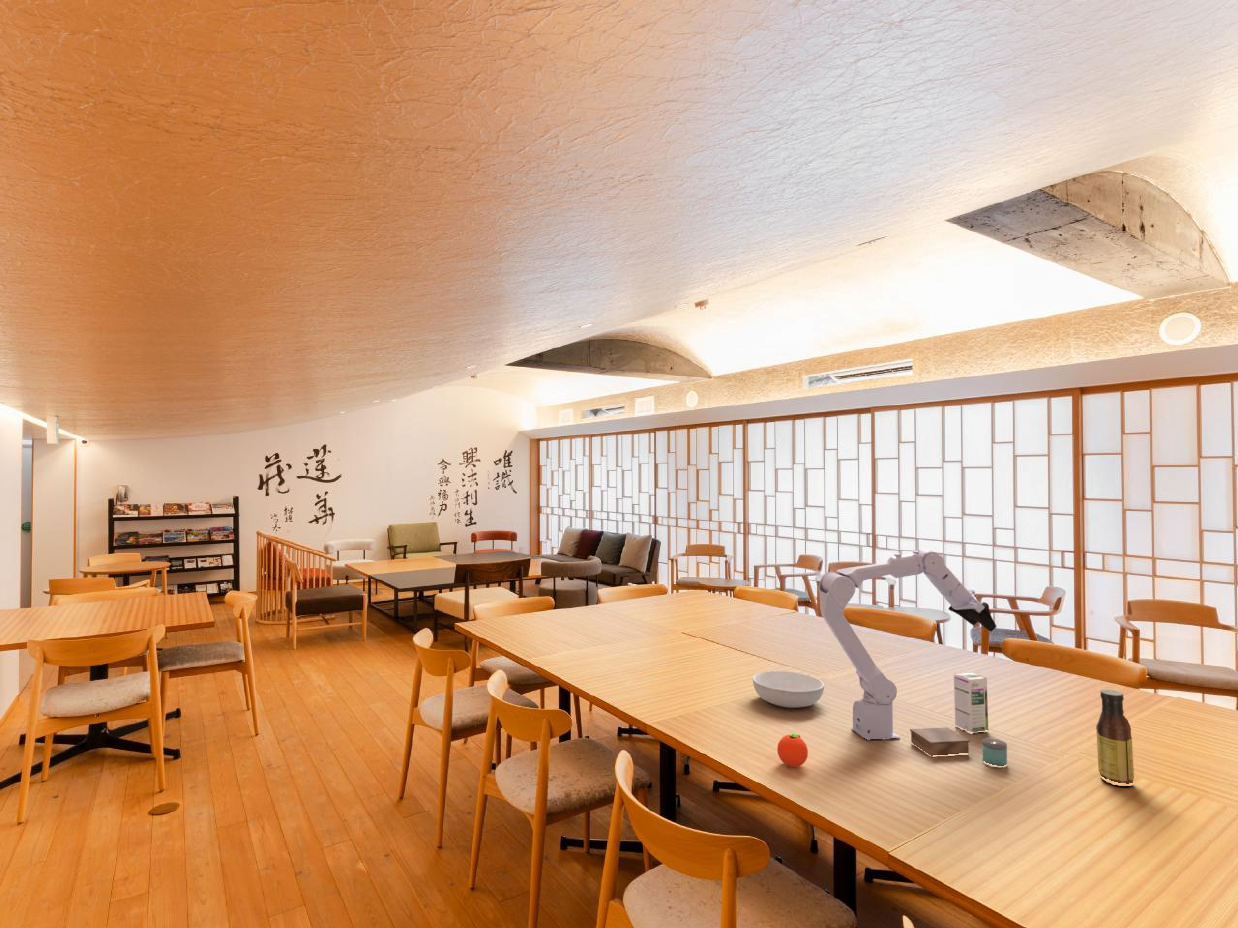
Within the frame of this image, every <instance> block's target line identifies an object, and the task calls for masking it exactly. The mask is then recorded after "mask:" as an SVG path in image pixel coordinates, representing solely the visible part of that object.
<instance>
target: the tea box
mask: <svg viewBox="0 0 1238 928" xmlns="http://www.w3.org/2000/svg"><path fill="white" fill-rule="evenodd" d="M909 731H910V733H911V735H910V736H911V737H910V739H911V741H910V743H911V742H912V743H913V744H914V745H916V746H917V747H919V748H920V749H922V750H923V751H925V752H926V753H928V754H929V755H931V756H933V755H948V754H959V753H969V754H970V749H969V748H970V747H969V745H970V742H971V739H968V738H967V737H965V736H963V735H962V734H960V733H958V732H957V731H955V730H952V729H951V728H949V727H929V728H927V727H926V728H925V727H924V728H911V729H909Z"/></svg>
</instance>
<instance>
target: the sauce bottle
mask: <svg viewBox="0 0 1238 928" xmlns="http://www.w3.org/2000/svg"><path fill="white" fill-rule="evenodd" d="M1099 697H1100V699H1101V712H1100V715H1099V718H1098V721H1097V723H1096V746H1097V766H1098V767H1097V768H1098V772H1099V773H1100V775H1101V776H1102V777H1104V778H1105V779H1109V780H1111V781H1114V782H1118V783H1126V784H1129V783H1133V781H1134V778H1135V773H1134V772H1135V769H1134V755H1133V738H1132V728H1131V725H1130V723H1129V720H1128V719H1127V718H1126V717H1125V715H1124V705H1123V702H1124V693H1122V692H1121V691H1118V690H1112V689H1102V690H1100V696H1099ZM1100 775H1099V776H1100Z"/></svg>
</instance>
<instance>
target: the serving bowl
mask: <svg viewBox="0 0 1238 928" xmlns="http://www.w3.org/2000/svg"><path fill="white" fill-rule="evenodd" d="M752 683H753V684H752V685H753V688H754V691H755V693H756V694H757V695H758V696H759V698H761V699H762V700H764V701H765V702H768V703H770V704H773V705H775V706H778V707H781V708H787V709H798V708H803V707H804V708H805V707H809V706H812V705H814V704H815V703H817V702H818V701H819V700H820V699H821V698H822V696H823V694H824V690H825V689H824V688H825V683H824V682H823V681H822V680H820V679H819V678H817V677H815V676H813V675H810V674H807V673H806V674H805V673H802V672H795V671H787V670H767V671H762V672H757V673H756V674H753V677H752Z"/></svg>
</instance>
